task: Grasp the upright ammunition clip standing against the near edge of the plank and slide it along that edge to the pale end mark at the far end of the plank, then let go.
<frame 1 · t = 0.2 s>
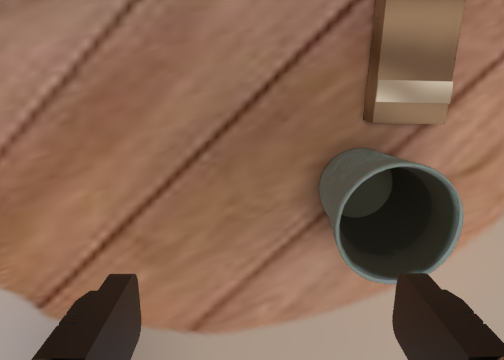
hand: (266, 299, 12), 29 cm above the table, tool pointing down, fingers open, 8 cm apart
grey-green cup: (356, 183, 41), on the table
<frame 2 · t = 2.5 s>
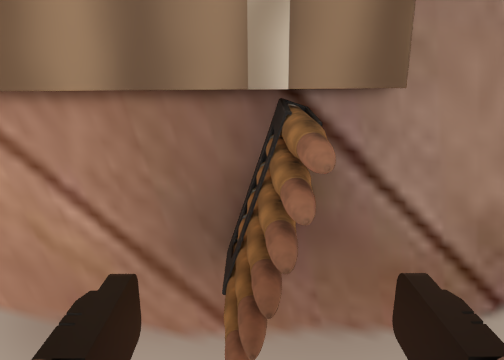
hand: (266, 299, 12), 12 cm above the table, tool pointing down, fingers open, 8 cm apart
ammunition clip: (265, 183, 24), on the table
plank: (158, 22, 21), on the table
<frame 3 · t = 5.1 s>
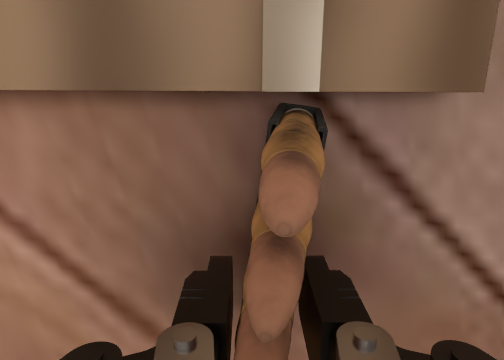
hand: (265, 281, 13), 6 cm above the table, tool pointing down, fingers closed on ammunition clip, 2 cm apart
ammunition clip: (281, 217, 18), on the table, touching gripper
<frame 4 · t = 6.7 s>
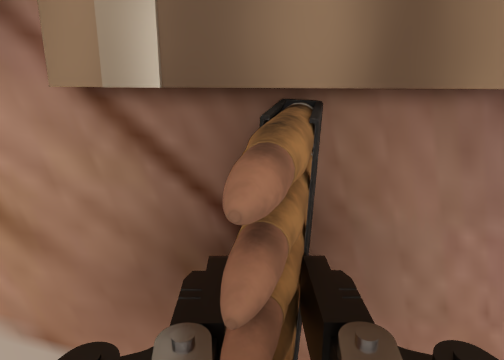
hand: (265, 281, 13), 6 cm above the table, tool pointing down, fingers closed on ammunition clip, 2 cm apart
ammunition clip: (293, 212, 18), on the table, touching gripper
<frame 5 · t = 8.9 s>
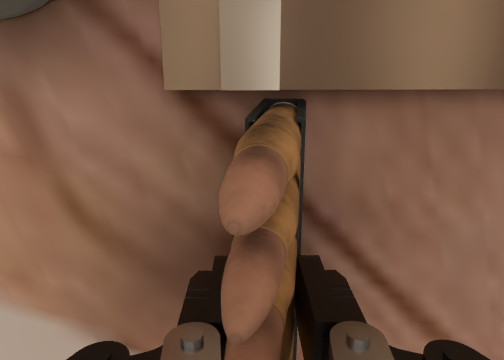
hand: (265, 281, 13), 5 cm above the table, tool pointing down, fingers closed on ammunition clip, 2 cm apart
ammunition clip: (281, 213, 18), on the table, touching gripper
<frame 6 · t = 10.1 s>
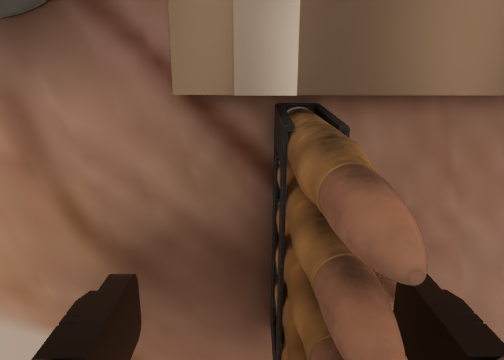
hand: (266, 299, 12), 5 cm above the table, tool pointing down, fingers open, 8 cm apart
ammunition clip: (292, 223, 17), on the table
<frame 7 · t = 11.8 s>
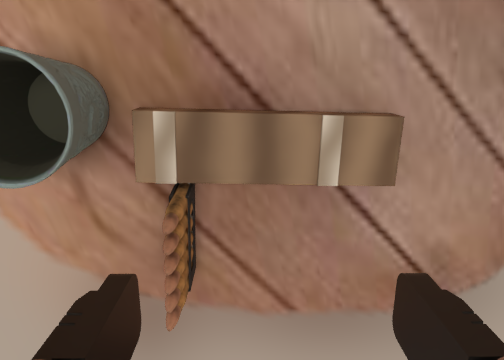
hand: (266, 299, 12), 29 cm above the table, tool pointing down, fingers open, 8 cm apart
grey-green cup: (69, 105, 38), on the table
ammunition clip: (186, 225, 42), on the table
plank: (266, 144, 39), on the table
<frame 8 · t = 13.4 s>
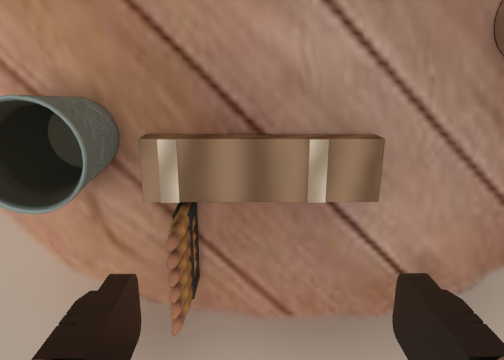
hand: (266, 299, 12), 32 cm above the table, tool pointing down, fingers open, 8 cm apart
grey-green cup: (84, 134, 42), on the table
ammunition clip: (190, 238, 46), on the table
plank: (260, 164, 43), on the table
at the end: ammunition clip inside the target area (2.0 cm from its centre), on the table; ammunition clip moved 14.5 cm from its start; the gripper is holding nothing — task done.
